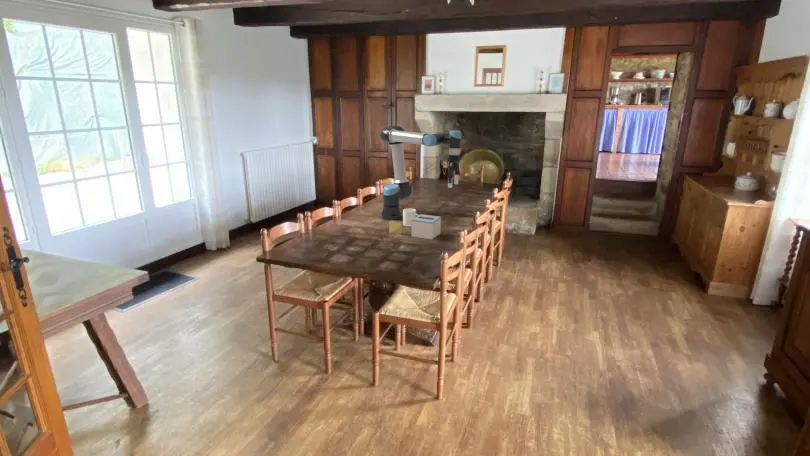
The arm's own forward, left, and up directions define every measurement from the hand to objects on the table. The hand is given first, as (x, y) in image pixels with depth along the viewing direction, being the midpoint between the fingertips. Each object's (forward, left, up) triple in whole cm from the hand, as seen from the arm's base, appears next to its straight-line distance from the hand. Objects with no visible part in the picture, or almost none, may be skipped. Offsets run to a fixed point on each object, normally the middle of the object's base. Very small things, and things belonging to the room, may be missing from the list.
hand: (453, 185), depth 292 cm
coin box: (-5, -34, -26) cm, 43 cm away
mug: (-22, -19, -26) cm, 39 cm away
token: (-24, -39, -26) cm, 53 cm away
